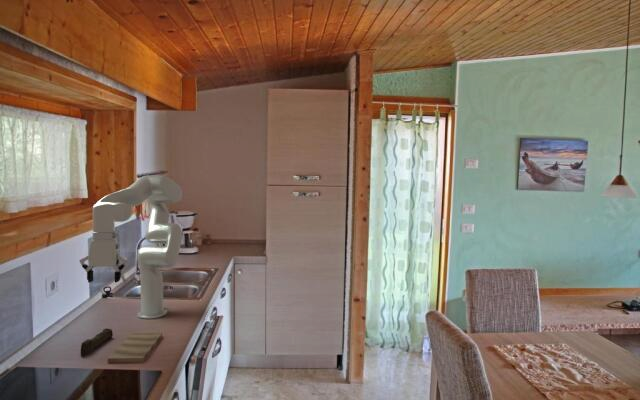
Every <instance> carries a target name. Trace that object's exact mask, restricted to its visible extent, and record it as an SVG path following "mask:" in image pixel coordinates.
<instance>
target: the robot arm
mask: <svg viewBox="0 0 640 400" xmlns="http://www.w3.org/2000/svg"><path fill="white" fill-rule="evenodd" d="M182 198H183V189H182V187H181V186H180V185H179V184H178V183H176V181H173V179H171V178H169V177H167V176H164V175H142V176H141V177H139V178H138V179H136V180H135V181H134V182H133V183H132V184H131V185H129V186H128V187H127V188H124V189H120V190H118V191H115V192H112V193H109V194H107V195H105V196H104V197H102V198H101V199H100V200H98V201H97V202H96V203H95V204H93V207H92V239H91V240H90V242H89V243H90V244H89V249H88V255H87V256H85V257H83V258H81V259H79V263H80V265H81V267H82V268H83V269H84V270H85V272H86V281H87V283H92V282H93V281H94V270H93V269H94V268H113V269H114V270H115V272H114V283H118V282H120V280H121V276H122V275H121V271H122V270H123V269H124V268H125V267H126V265H127V264H128V262H129V260H128V258H126V257H124V256H121V255H120V249H119V243H118V240H117V239H116V238H119V233H116V231H115V228H116V226H115V223H116V222H117V223H121V222H126V221H128V220H130V218H131V217H132V214H133V209H132V208H133V207H137V206H139V205H141V204H143V203H144V202H145V201H147V204H148V207H149V212H150V214H149V219H148V222H147V223H148V224H147V229H146V232H145V239H146V240H147V242H148V243H151V244H158V245H144V246H141V247H140V248H139V249H138V251H137V256H136V257H137V263H138V267H139V277H140V278H139V279H140V310H139V311H138V312H137V317H138V318H139V319H148V320H151V319H159V318H161V317H163V316H166V315H167V314H168V310H167V309H166V308H164V277H163V273H162V271H161V269H160V268H172V267H173V268H174V267H175V265H177V262H178V259H179V254H180V249H181V245H182V240H183V231H182V227H181V226H180V225H179V223H175V222H174V223H172V222H169V221H170V212H169V210H168V208H167V206H166V205H165V204H166V203H167V204H168V203H169V204H171V203H174V204H176V203H178V202H180V201H181V200H182ZM159 244H161V245H159ZM162 244H163V245H162ZM164 244H165V245H164ZM87 261H88V262H87ZM120 262H121V265H120ZM87 263H88V264H87Z"/></svg>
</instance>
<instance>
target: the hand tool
mask: <svg viewBox="0 0 640 400" xmlns="http://www.w3.org/2000/svg"><path fill="white" fill-rule="evenodd" d="M113 333H114V332H113V329H111V328H104V329H103V330H101V332H99V333H98V334H96V335H95V336H94V337H92V338H91V339H85V340H84V341H83V342H82V343H81V345H80V357H83V356H86V355H88V354H90V353H92V352H93V351H94V349H95V348H97V347H98V346H99V345H101V344H102V343H104V342H106V341H107V340H108V339H112V338H113V335H114V334H113Z"/></svg>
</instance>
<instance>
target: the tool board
mask: <svg viewBox="0 0 640 400" xmlns="http://www.w3.org/2000/svg"><path fill="white" fill-rule="evenodd" d="M162 338H163V333H162V332H156V333H155V332H154V333H149V332H148V333H147V332H146V333H144V332H143V333H141V332H140V333H138V332H137V333H130V334H129V336H127V338H125V340H124V341H123V342H122V343H121V344H120V345H119V346H118V347H117V348H115V350H114V351H113V353H112V354H111V355H109V357H108V358H107V363H108V364H109V363H111V364H112V363H113V364H114V363H116V364H117V363H144V362H145V360H146V359H147V358H148V357H149V355H150V354H151V353H152V351H153V350H154V349H155V348H156V346H157V344H158V343H160V340H161V339H162Z"/></svg>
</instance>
